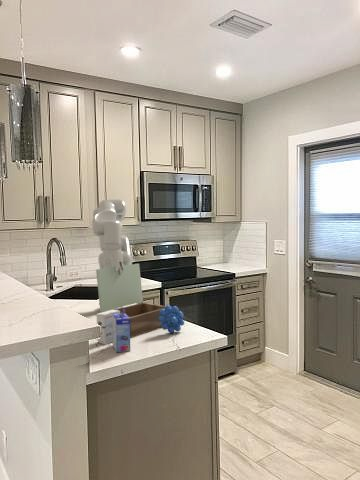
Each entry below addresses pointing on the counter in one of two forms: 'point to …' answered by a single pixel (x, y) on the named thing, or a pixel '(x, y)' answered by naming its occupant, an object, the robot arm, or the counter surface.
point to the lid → (119, 287)
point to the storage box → (143, 317)
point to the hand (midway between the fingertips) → (114, 286)
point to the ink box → (106, 326)
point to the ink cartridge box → (121, 332)
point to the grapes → (171, 318)
